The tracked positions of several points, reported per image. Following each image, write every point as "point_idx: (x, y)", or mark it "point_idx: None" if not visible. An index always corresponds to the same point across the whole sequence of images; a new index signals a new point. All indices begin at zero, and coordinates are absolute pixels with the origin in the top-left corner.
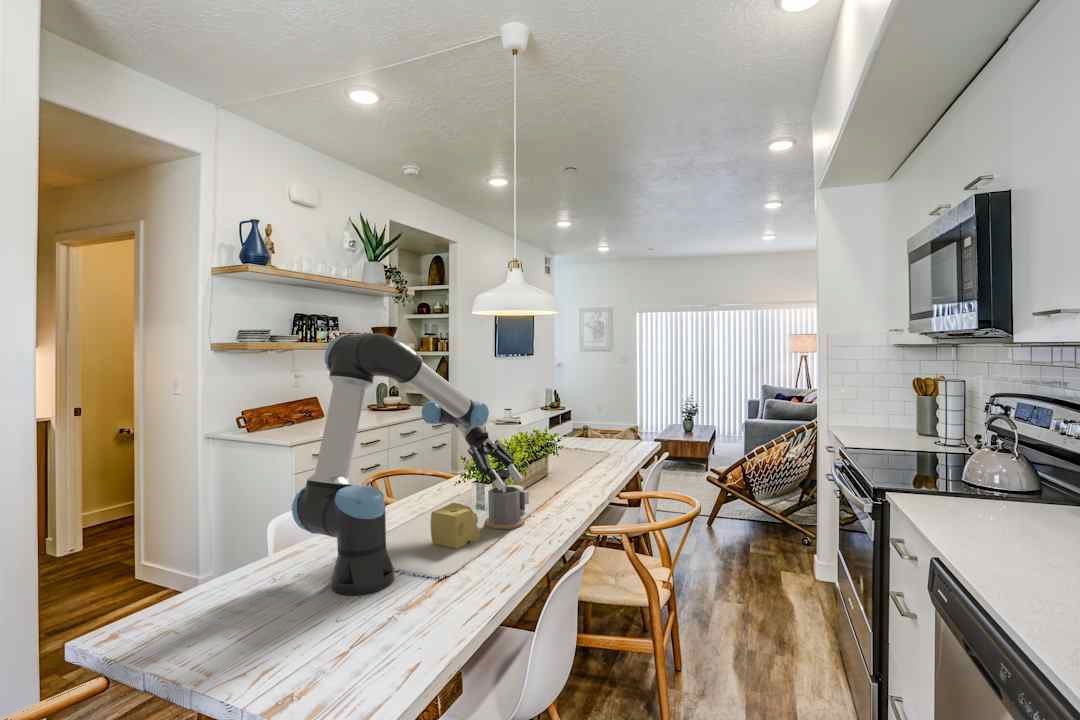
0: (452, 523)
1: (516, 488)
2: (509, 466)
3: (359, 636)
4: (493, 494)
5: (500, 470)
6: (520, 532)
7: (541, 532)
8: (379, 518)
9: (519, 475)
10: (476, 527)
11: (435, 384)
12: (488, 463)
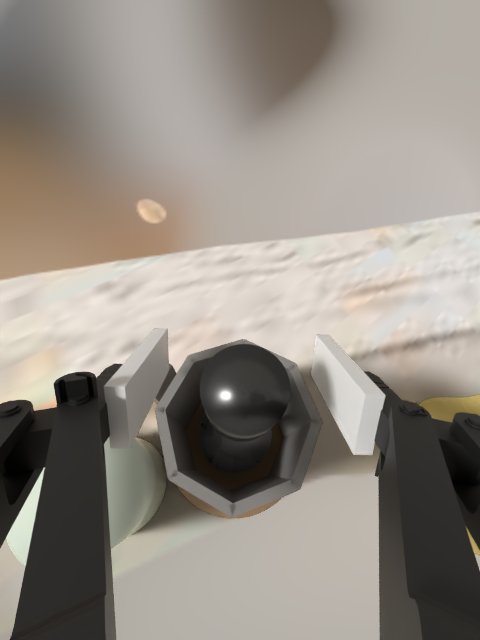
0: None
1: (183, 376)
2: (129, 407)
3: None
4: (320, 420)
5: (289, 381)
6: (276, 342)
7: (246, 298)
8: None
9: (158, 338)
10: (418, 404)
11: None
12: (413, 448)
